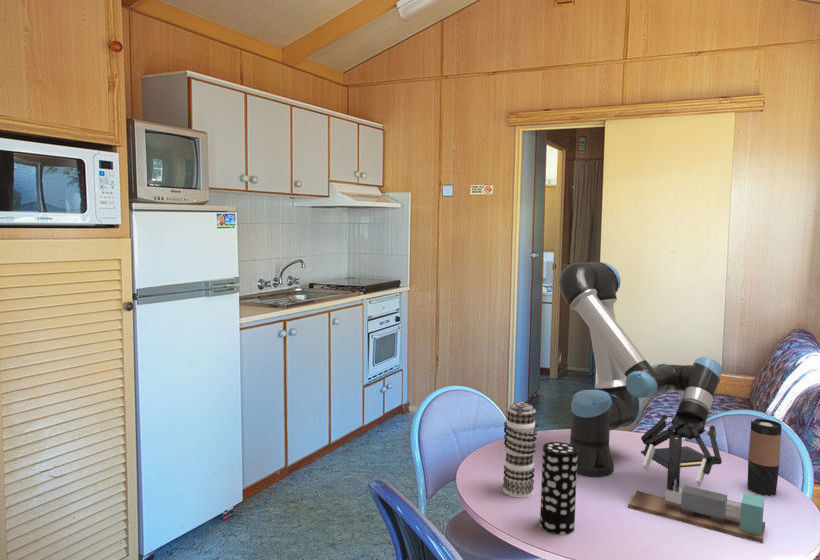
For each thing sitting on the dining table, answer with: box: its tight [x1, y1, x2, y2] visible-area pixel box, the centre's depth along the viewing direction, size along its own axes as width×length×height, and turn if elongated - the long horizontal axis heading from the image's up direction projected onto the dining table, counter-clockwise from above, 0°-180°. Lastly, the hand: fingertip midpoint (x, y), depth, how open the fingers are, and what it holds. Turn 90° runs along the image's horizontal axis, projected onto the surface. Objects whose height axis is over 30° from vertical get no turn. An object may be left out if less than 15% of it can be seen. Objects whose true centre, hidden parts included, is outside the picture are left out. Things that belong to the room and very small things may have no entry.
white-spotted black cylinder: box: [539, 441, 578, 535], centre depth 146 cm, size 8×8×20 cm
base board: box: [627, 490, 766, 544], centre depth 153 cm, size 31×10×1 cm, turn 56°
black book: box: [640, 445, 719, 470], centre depth 194 cm, size 20×2×15 cm
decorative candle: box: [502, 401, 538, 499], centre depth 166 cm, size 9×9×25 cm
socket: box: [740, 492, 765, 536], centre depth 146 cm, size 4×7×7 cm, turn 146°
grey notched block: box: [681, 484, 728, 524], centre depth 152 cm, size 10×5×6 cm, turn 56°
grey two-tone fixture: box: [664, 435, 742, 519], centre depth 151 cm, size 20×3×17 cm, turn 56°
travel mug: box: [747, 418, 783, 497], centre depth 169 cm, size 8×8×20 cm
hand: (670, 475), depth 154 cm, fingers open, 13 cm apart
